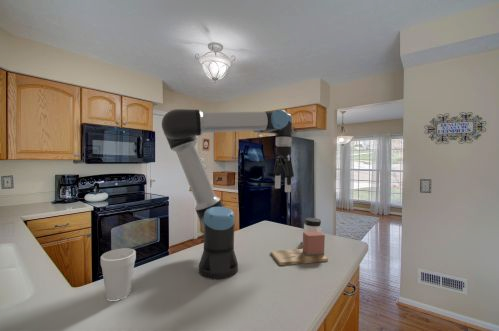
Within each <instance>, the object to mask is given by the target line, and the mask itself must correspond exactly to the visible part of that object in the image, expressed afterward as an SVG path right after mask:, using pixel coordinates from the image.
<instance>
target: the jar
mask: <svg viewBox="0 0 499 331" xmlns="http://www.w3.org/2000/svg"><path fill="white" fill-rule="evenodd" d="M303 232H320V233H322V221H321V219H320V218H317V217H306V218H305V219H304V223H303Z"/></svg>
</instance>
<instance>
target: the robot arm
mask: <svg viewBox="0 0 499 331" xmlns="http://www.w3.org/2000/svg"><path fill="white" fill-rule="evenodd" d="M292 126H293V117H292V115H291V114H290V113H287V111H286V110H284V109H275V110H273V111H217V112H216V111H208V112H207V111H206V112H205V111H202V110H200V109H190V108H189V109H183V108H178V109H172V110H169V111H168V112H167V113H165V114H164V115H163V117H162V120H161V128H162V132H163V134H164V136H165V138H166V140H167V144H168V145H169V149H170V150H171V151H172V152H175V153H176V155H177V158H178V160H179V162H180V165H181V168H182V170H183V173H184V175H185V177H186V180H187V182H188V185H189V188H190V190H191V193H192V196H193V197H194V200H195V202H196V205H195V208H194V209H195V212H196V215H197V218H198V219H199V223H200V225H201V228H202V230H203V251H202V254H201V256H200V257H201V258H200V261H199V262H198V273H199V275H200V276H202V277H204V278H206V279H209V280H223V279H224V280H225V279H227V278H230V277H232V276H235V275H236V274H237V272H238V270H239V262H238V259H237V256H236V252H235V245H234V244H235V221H236V217H235V212H234V211H233V209H231V208H229V207H226V206H224V205H223V203H222V200H221V198H220V197H218V196H216V194H215V191H214V189H213V186H212V184H211V182H210V179H209V177H208V173H207V171H206V169H205V166H204V163H203V160H202V158H201V156H200V154H199V151H198V148H197V143H198V138H197V136H199V137H200V136H203V134H204V133H225V132H226V133H227V132H231V133H232V132H250V131H251V132H252V131H253V132H254V133H258V134H274V135H275V146H276V147H275V155H278V156H276V157H275V162H274V163H275V164H274V169H273V175H274V188H275V189H281V181H282V180H281V178H282V170H284V175H285V176H284V192H285V193H291V192H292V178H293V177H294V176H295V175H294V174H295V173H294V169H293V163H292V156H291V155H292V147H291V146H292V142H293V140H292V134H293V132H292V131H293V130H292V128H293V127H292Z"/></svg>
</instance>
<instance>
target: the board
mask: <svg viewBox="0 0 499 331" xmlns="http://www.w3.org/2000/svg"><path fill="white" fill-rule="evenodd" d="M270 255H271V256H272V257H273V259H274V260H275V261H276V262H277V264H278V265H279V266H287V265H289V266H290V265H300V264H312V263H323V262H329V258H328V257H327V256H326V255H325V254H324V255H318V256H307V255H306V254H305V253H303V248H296V249H284V250H281V249H280V250H271V251H270Z"/></svg>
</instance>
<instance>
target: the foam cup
mask: <svg viewBox="0 0 499 331" xmlns="http://www.w3.org/2000/svg"><path fill="white" fill-rule="evenodd" d="M136 254H137V251H136V250H135V249H134V248H128V247H122V248H115V249H112V250H109V251H106V252H104V253H102V255H101V256H100V267H101V270H102V277H103V284H104V290H105V291H104V292H105V297H106V300H107V299H109V300H117V299H121V298H124V297H126V296H127V295H129V296H130V294H131V289H132V282H133V275H134V268H135V262H136V259H137V255H136ZM129 293H130V294H129ZM126 298H127V297H126Z"/></svg>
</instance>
